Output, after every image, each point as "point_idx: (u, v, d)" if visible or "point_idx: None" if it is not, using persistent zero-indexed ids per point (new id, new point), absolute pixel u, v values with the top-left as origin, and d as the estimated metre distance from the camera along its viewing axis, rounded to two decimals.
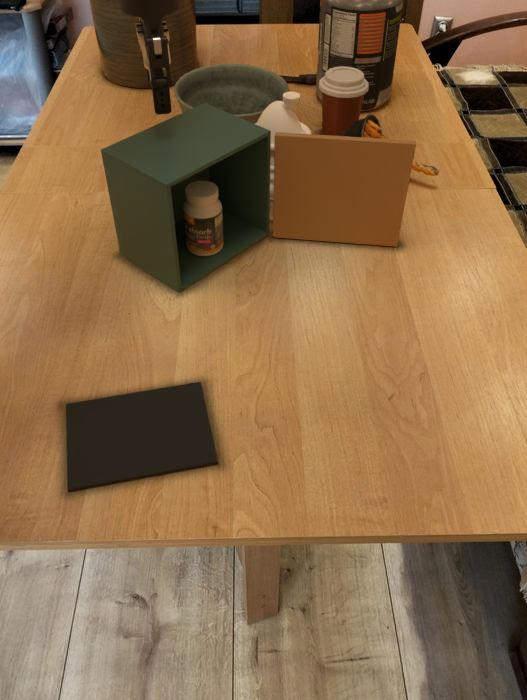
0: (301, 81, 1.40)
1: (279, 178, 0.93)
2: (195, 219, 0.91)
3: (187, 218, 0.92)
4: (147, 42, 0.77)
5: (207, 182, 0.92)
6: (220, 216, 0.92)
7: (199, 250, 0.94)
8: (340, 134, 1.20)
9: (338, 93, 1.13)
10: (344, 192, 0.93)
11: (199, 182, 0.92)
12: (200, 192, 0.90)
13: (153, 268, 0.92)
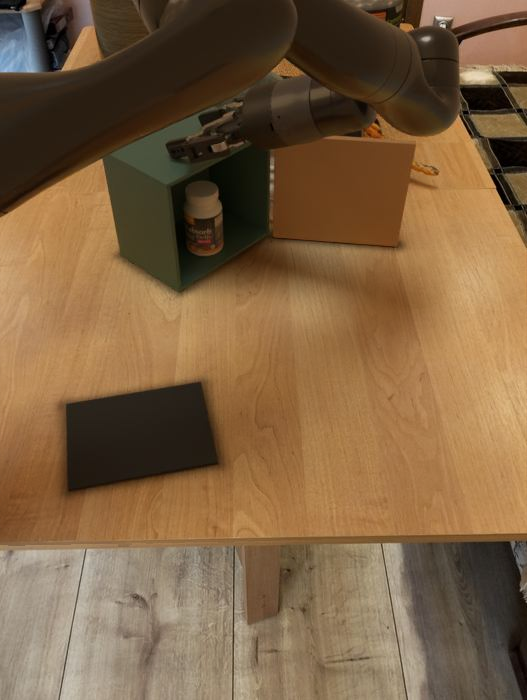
0: None
1: (279, 178, 0.93)
2: (195, 219, 0.91)
3: (187, 218, 0.92)
4: (218, 137, 0.75)
5: (207, 182, 0.92)
6: (220, 216, 0.92)
7: (199, 250, 0.94)
8: (340, 134, 1.20)
9: None
10: (344, 192, 0.93)
11: (199, 182, 0.92)
12: (200, 192, 0.90)
13: (153, 268, 0.92)
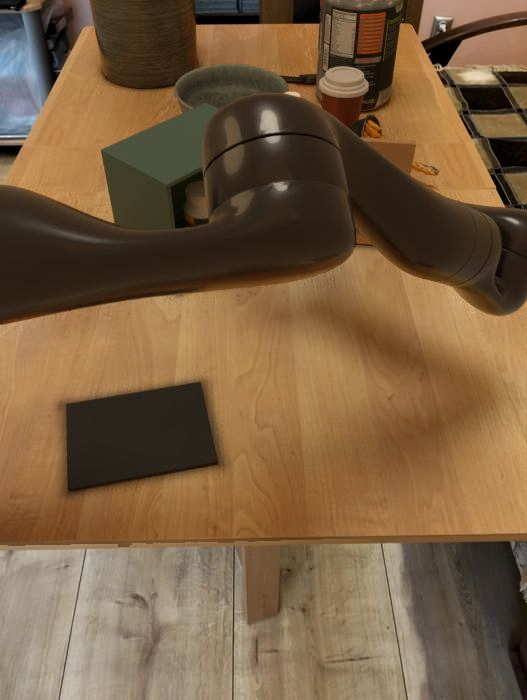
0: (301, 81, 1.40)
1: None
2: (195, 219, 0.91)
3: (187, 218, 0.92)
4: None
5: None
6: None
7: None
8: None
9: (338, 93, 1.13)
10: None
11: (199, 182, 0.92)
12: (200, 192, 0.90)
13: None
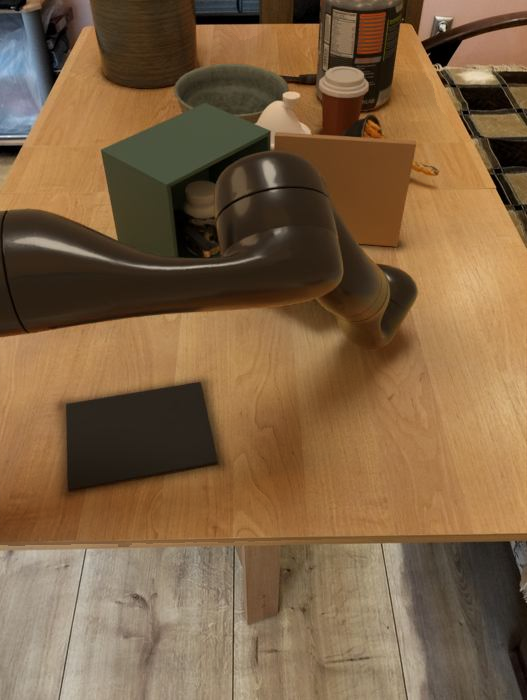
0: (301, 81, 1.40)
1: None
2: None
3: None
4: (204, 246, 0.85)
5: (207, 182, 0.92)
6: None
7: None
8: (340, 134, 1.20)
9: (338, 93, 1.13)
10: (344, 192, 0.93)
11: (199, 182, 0.92)
12: (200, 192, 0.90)
13: None
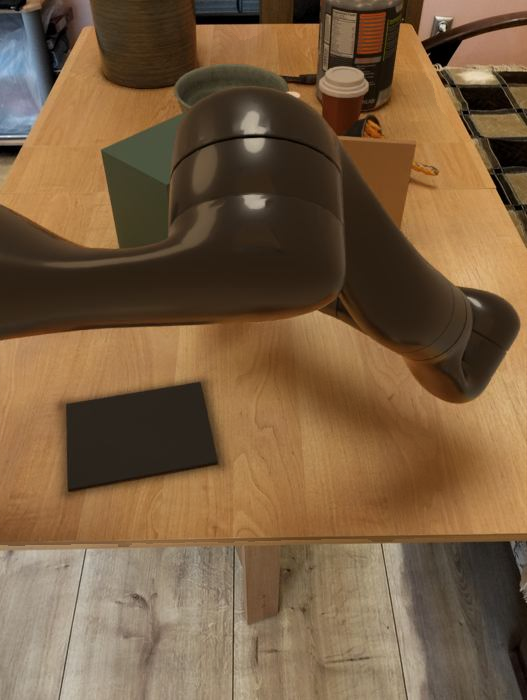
0: (301, 81, 1.40)
1: None
2: None
3: None
4: None
5: None
6: None
7: None
8: (340, 134, 1.20)
9: (338, 93, 1.13)
10: None
11: None
12: None
13: None
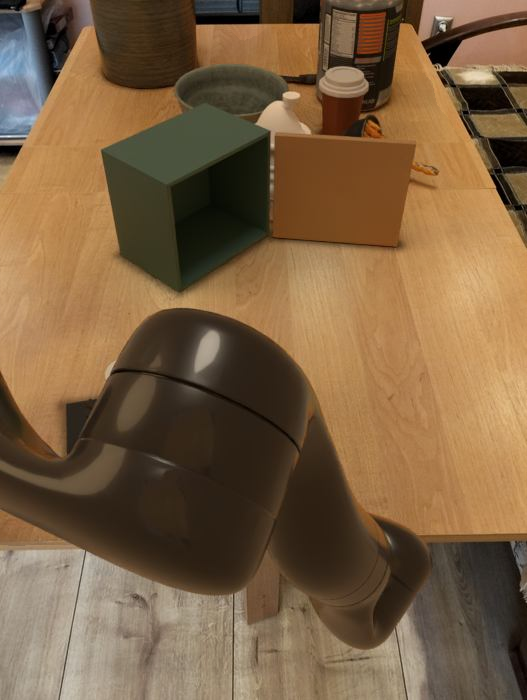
0: (301, 81, 1.40)
1: (279, 178, 0.93)
2: None
3: None
4: None
5: None
6: None
7: None
8: (340, 134, 1.20)
9: (338, 93, 1.13)
10: (344, 192, 0.93)
11: None
12: None
13: (153, 268, 0.92)
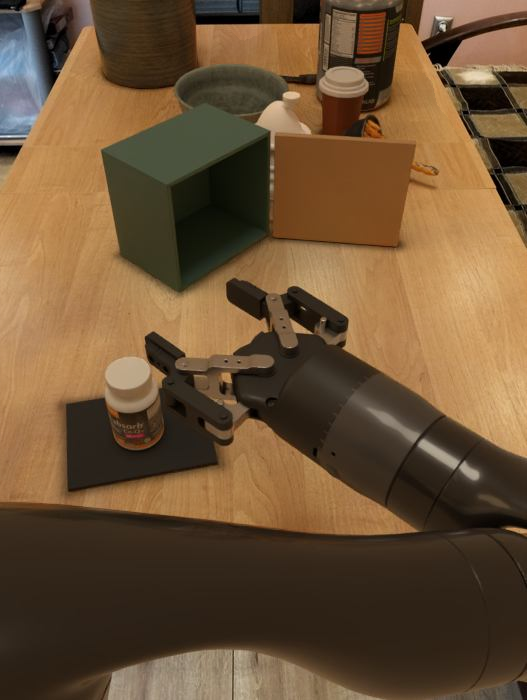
0: (301, 81, 1.40)
1: (279, 178, 0.93)
2: (120, 413, 0.66)
3: (109, 409, 0.67)
4: (220, 422, 0.41)
5: (137, 359, 0.67)
6: (155, 404, 0.68)
7: (129, 445, 0.70)
8: (340, 134, 1.20)
9: (338, 93, 1.13)
10: (344, 192, 0.93)
11: (126, 360, 0.67)
12: (124, 379, 0.65)
13: (153, 268, 0.92)
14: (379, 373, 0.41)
